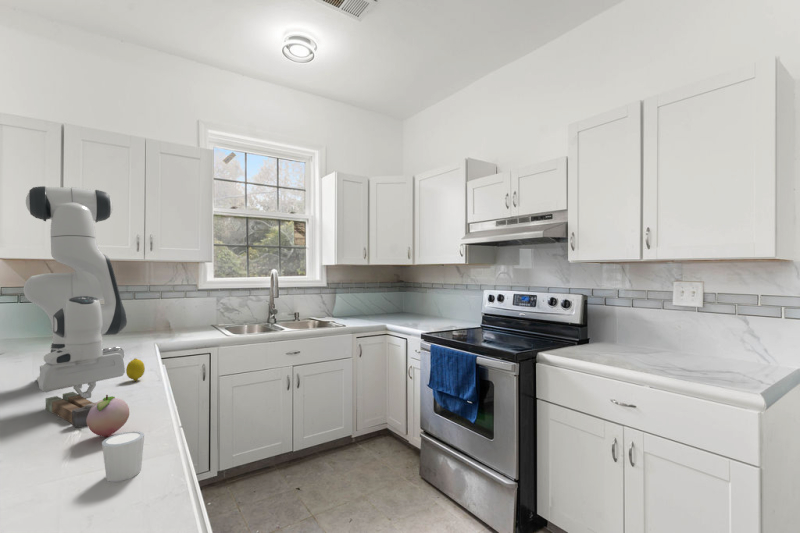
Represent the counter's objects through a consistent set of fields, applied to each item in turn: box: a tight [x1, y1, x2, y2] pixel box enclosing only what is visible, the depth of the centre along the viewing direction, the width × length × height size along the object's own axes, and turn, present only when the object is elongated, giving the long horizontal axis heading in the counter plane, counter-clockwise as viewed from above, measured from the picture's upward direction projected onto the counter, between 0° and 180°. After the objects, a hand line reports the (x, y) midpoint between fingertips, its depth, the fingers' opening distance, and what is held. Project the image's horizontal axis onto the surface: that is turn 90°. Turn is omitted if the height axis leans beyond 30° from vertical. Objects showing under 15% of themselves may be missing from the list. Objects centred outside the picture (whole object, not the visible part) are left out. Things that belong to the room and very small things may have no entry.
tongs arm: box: [62, 391, 95, 408], centre depth 114 cm, size 20×2×3 cm, turn 53°
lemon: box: [125, 358, 145, 382], centre depth 145 cm, size 6×6×8 cm
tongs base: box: [45, 395, 95, 429], centre depth 111 cm, size 25×6×5 cm, turn 56°
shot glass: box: [101, 431, 145, 483], centre depth 78 cm, size 7×7×7 cm
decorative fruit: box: [86, 394, 130, 438], centre depth 96 cm, size 9×8×10 cm
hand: (84, 398), depth 119 cm, fingers closed
